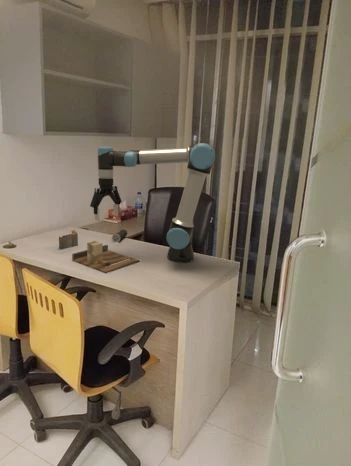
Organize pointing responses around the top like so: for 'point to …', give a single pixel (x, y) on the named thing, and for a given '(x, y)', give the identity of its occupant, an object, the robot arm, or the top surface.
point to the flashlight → (119, 235)
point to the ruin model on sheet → (68, 240)
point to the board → (108, 256)
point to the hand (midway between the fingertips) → (106, 218)
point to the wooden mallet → (95, 253)
